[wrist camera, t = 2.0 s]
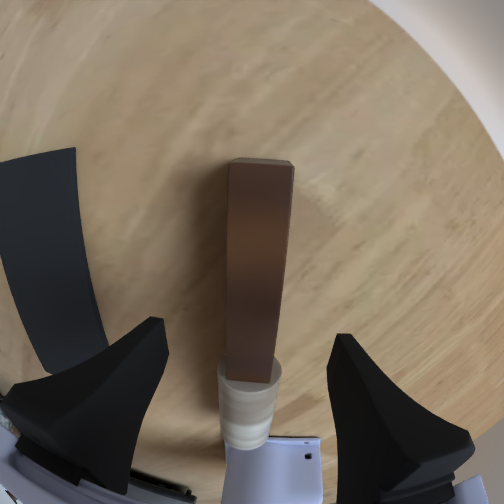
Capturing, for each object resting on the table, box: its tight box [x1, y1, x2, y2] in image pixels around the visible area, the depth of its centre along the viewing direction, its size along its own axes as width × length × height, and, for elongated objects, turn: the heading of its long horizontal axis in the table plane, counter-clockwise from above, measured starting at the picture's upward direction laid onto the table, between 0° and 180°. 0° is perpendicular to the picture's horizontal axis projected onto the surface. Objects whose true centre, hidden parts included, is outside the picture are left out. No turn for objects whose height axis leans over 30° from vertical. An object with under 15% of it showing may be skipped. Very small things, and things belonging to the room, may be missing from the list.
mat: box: [0, 147, 109, 375], centre depth 18 cm, size 11×22×1 cm, turn 177°
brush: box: [217, 158, 295, 450], centre depth 15 cm, size 20×4×4 cm, turn 177°
